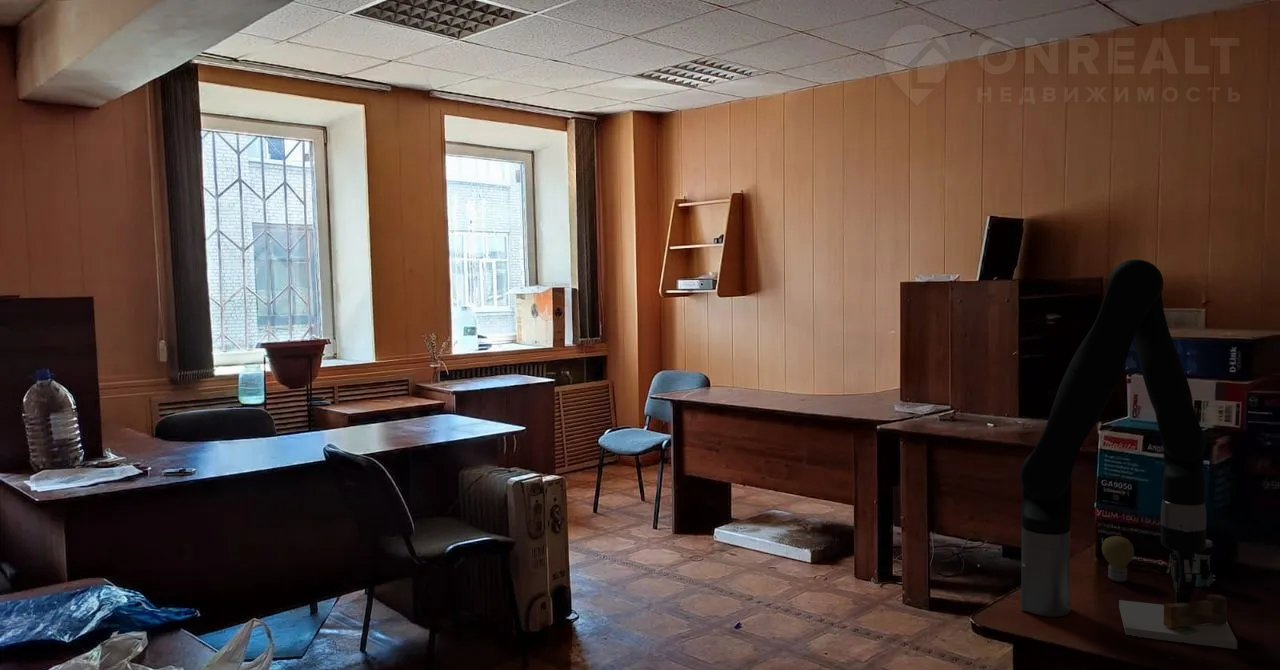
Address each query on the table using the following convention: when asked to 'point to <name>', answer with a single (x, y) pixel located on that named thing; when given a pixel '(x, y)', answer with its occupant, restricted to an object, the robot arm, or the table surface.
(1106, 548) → the light bulb
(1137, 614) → the plate
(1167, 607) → the peg lever
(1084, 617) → the table surface
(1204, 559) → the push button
